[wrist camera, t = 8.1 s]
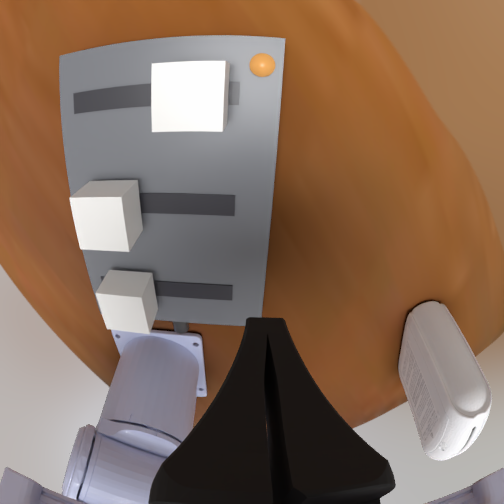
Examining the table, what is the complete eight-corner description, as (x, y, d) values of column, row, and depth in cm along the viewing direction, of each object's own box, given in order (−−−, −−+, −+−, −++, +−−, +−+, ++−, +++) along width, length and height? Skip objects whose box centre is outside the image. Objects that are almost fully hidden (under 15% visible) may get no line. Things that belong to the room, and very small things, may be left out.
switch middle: (142, 229, 17) (129, 252, 15) (97, 228, 17) (80, 249, 15) (137, 179, 15) (121, 197, 13) (90, 181, 15) (69, 197, 13)
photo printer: (429, 363, 28) (465, 459, 18) (393, 374, 29) (424, 476, 18) (446, 293, 23) (511, 409, 12) (403, 305, 23) (460, 434, 13)
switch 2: (227, 123, 14) (222, 131, 12) (166, 123, 14) (151, 132, 12) (230, 63, 12) (225, 60, 10) (166, 65, 12) (151, 63, 10)
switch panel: (258, 326, 24) (258, 347, 22) (114, 314, 24) (105, 334, 22) (281, 42, 14) (286, 37, 12) (77, 55, 13) (56, 56, 11)
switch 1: (158, 308, 20) (149, 334, 18) (118, 304, 20) (107, 328, 18) (152, 272, 19) (141, 297, 17) (109, 269, 19) (95, 293, 17)
